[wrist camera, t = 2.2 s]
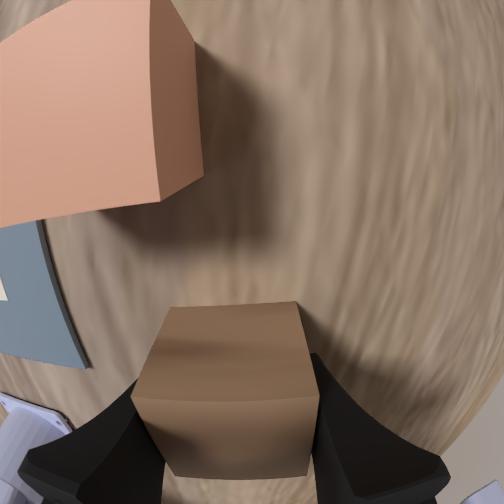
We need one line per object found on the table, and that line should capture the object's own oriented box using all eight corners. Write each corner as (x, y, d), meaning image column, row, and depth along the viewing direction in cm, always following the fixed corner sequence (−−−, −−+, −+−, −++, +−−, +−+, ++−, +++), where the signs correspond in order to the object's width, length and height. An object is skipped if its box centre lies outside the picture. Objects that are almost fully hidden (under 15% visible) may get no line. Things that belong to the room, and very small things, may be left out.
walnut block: (294, 388, 13) (306, 475, 8) (192, 391, 13) (175, 476, 8) (295, 301, 11) (319, 395, 7) (170, 307, 11) (130, 396, 7)
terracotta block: (204, 175, 10) (160, 201, 5) (82, 193, 10) (-7, 229, 5) (195, 42, 8) (152, -29, 3) (74, 74, 8) (-13, 52, 3)
